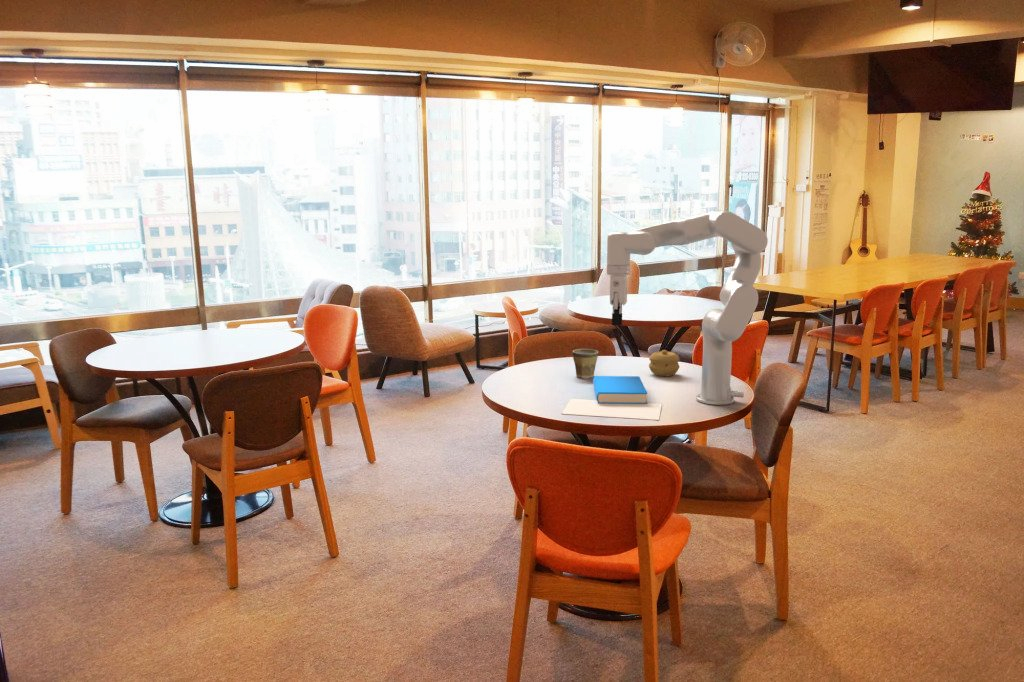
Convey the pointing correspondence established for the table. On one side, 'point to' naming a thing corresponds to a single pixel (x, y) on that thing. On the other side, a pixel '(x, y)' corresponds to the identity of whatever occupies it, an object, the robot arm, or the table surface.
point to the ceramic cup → (585, 362)
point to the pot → (664, 363)
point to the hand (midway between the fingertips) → (616, 325)
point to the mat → (613, 409)
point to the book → (619, 390)
